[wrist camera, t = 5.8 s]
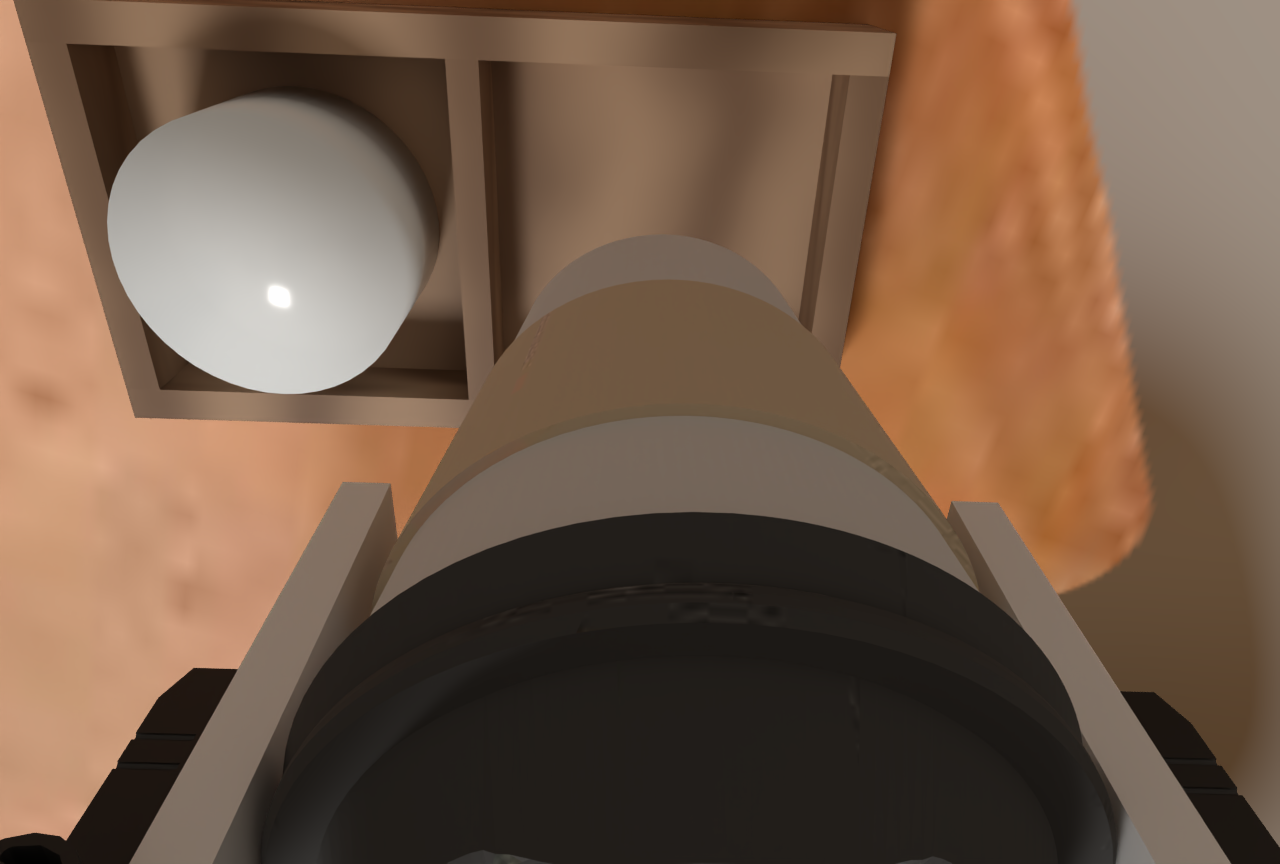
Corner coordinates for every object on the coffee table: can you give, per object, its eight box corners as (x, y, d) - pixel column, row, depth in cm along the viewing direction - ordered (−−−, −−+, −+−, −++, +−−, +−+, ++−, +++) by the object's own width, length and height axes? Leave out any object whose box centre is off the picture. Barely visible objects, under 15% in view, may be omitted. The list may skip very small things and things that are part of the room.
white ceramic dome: (213, 331, 33) (148, 389, 28) (157, 80, 28) (69, 104, 24) (448, 339, 33) (419, 398, 29) (428, 91, 28) (390, 116, 24)
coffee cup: (820, 524, 23) (1058, 1278, 10) (485, 518, 23) (281, 1272, 10) (873, 186, 19) (1429, 749, 5) (458, 177, 18) (16, 726, 5)
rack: (179, 376, 35) (135, 417, 32) (81, -9, 28) (12, -3, 25) (811, 397, 35) (827, 439, 32) (868, 24, 28) (896, 33, 25)
